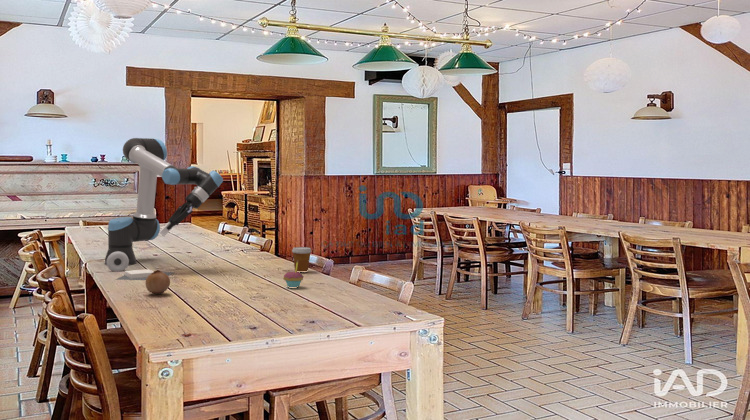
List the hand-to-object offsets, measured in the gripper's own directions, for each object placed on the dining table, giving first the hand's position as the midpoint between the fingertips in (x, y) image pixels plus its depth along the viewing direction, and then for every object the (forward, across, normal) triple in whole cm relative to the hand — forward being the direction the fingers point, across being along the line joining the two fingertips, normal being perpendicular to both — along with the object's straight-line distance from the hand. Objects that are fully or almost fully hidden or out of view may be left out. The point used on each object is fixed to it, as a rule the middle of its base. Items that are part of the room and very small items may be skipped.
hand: (161, 234), depth 320 cm
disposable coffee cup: (-30, +21, +58) cm, 69 cm away
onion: (+25, +44, +2) cm, 50 cm away
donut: (+24, -18, +4) cm, 31 cm away
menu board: (+16, 0, +9) cm, 18 cm away
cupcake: (-14, +56, +41) cm, 71 cm away
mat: (+19, +1, +8) cm, 21 cm away
